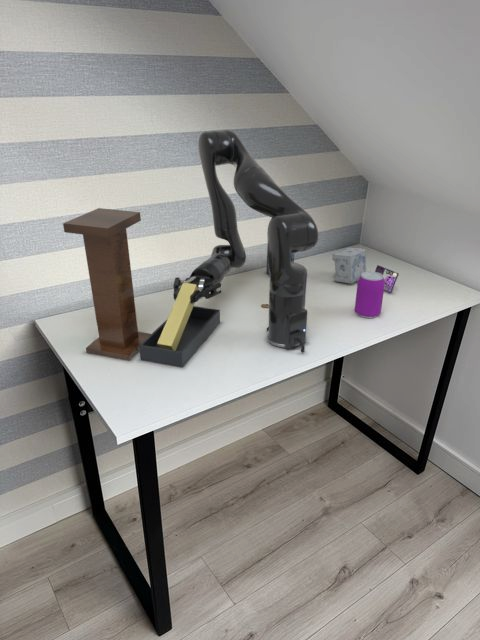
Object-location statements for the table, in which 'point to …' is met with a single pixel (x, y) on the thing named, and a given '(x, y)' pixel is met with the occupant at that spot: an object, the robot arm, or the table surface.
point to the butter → (177, 318)
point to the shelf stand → (110, 280)
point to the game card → (388, 277)
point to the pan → (182, 339)
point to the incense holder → (349, 265)
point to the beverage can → (369, 294)
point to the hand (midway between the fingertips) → (183, 298)
